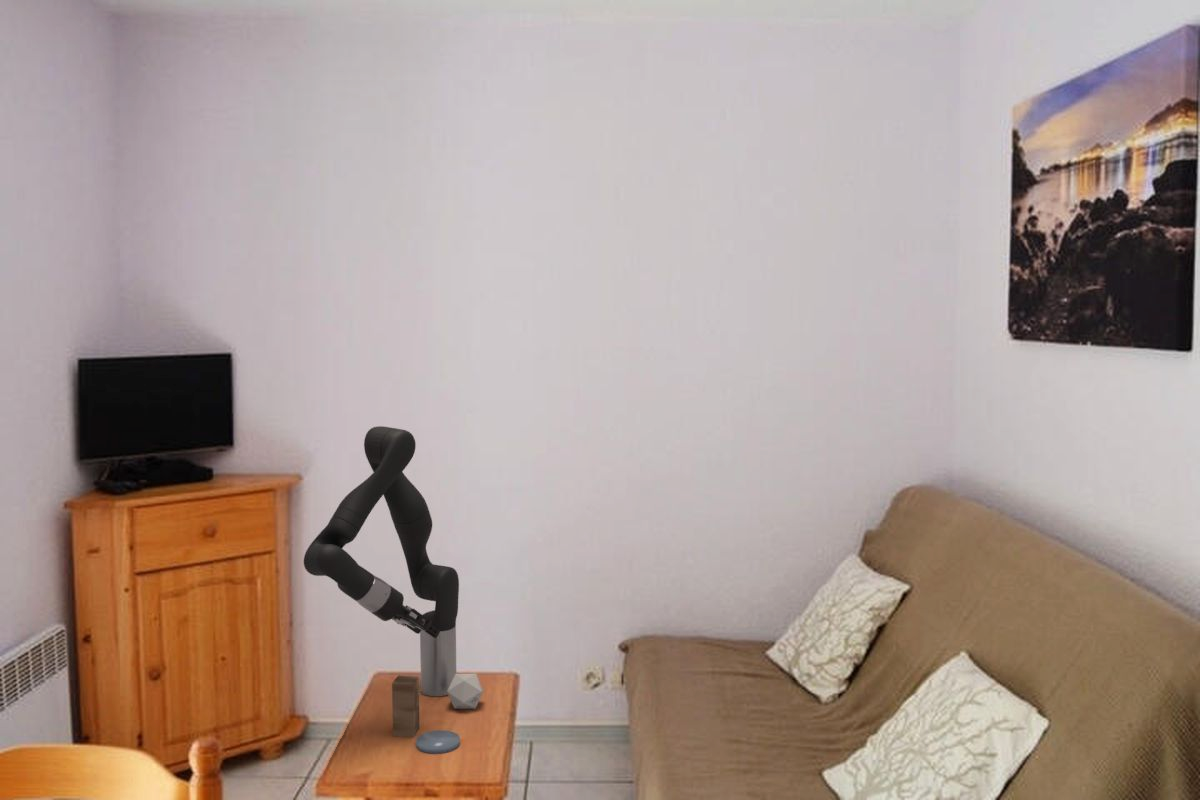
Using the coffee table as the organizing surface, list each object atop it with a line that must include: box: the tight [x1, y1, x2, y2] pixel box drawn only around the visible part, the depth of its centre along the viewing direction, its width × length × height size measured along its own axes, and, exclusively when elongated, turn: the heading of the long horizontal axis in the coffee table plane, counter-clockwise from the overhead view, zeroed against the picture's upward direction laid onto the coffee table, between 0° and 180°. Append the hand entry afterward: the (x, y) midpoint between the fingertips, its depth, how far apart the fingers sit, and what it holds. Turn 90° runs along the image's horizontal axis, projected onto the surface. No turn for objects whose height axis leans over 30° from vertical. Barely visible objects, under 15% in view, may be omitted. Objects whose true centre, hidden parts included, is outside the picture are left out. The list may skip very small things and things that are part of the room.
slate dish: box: [415, 729, 461, 755], centre depth 253 cm, size 10×10×1 cm
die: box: [447, 673, 484, 710], centre depth 274 cm, size 8×9×10 cm
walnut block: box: [391, 674, 421, 738], centre depth 258 cm, size 5×5×13 cm
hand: (428, 632), depth 262 cm, fingers open, 8 cm apart
